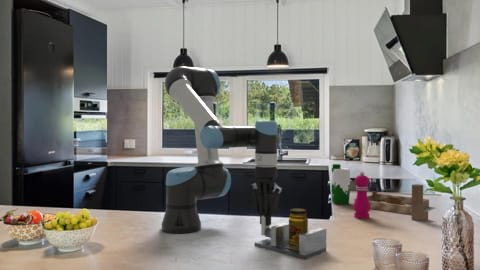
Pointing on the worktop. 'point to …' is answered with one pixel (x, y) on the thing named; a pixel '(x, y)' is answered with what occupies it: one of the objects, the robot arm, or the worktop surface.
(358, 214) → the pepper mill
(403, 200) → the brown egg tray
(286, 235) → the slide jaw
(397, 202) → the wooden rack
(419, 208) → the wooden block
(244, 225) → the worktop surface
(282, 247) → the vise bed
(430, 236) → the worktop surface
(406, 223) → the worktop surface
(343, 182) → the milk carton
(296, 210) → the condiment
